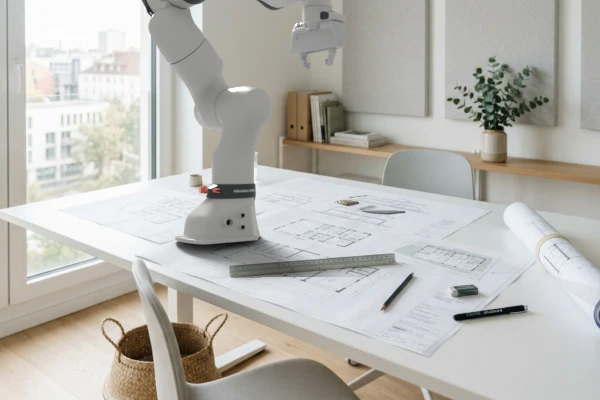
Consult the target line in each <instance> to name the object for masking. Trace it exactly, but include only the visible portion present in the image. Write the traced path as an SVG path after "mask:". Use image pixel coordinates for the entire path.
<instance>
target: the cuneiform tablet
mask: <svg viewBox="0 0 600 400" xmlns="http://www.w3.org/2000/svg"><path fill="white" fill-rule="evenodd" d="M367 196H368V195H367V194H364V195H363V194H362V195H353V196H349V198H350V199H339V200H335V201H334V203H335V204H338V205H342V206H346V207H348V206H353V205H357V204H360V202H359V201H358V200H353V199H351V198H359V197H360V198H361V197H367Z"/></svg>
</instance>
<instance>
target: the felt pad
mask: <svg viewBox="0 0 600 400" xmlns="http://www.w3.org/2000/svg"><path fill="white" fill-rule="evenodd" d="M362 212H363V213H367V214H369V213H370V214H379V215H393V214H402V213H403V214H404V213H406V211H405V210H397V209H395V210H394V209H391V210H390V209H387V210H385V209H384V210H383V209H380V210H379V209H378V210H374V209H373V210H362Z"/></svg>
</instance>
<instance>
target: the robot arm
mask: <svg viewBox="0 0 600 400" xmlns="http://www.w3.org/2000/svg"><path fill="white" fill-rule="evenodd" d="M205 1H206V0H141V2H142V3H143V5H144V7H145V9H146V13H147V14H148V15H149V16H150V18H149V22H148V26H147V27H148V32H149V35H150V36H151V38H152V40H153V41H154V43H155V45H156V47H157V49H158V50H159V52H160V53H161V55H162V56H163V57H164V59H165V60H166V62H167V63H168V64H169V65H170V67H171V68H172V70H173V71H174V72H175V74H177V76H178V77H179V78H180V79H181V81H182V82H183V83H184V85H185V86H186V88H187V90H188V92H189V94H190V95H191V98H192V100H193V103H194V107H193V113H194V118H195V120H196V122H197V123H198V125H199V126H201V127H202V128H204V129H206V130H208V131H209V130H210V131H214V132H221V135H220V139H219V142H218V144H217V146H216V147H215V149H214V150H213V151H212V153H211V183H210V184H209V186H207V185H200V186H199V187H198V193H199V194H206V196H205V199H204V200H203V201H202V202H201V203H200V204H198V205H197V206H196V207H195V208H194V209H193V210H191V212H189V213H188V214H187V216H186V217H185V220H184V227H183V234H177V235H175V236H174V237H175V238H174V240H175V241H176V242H180V243H186V244H193V245H212V244H213V245H215V244H226V243H239V242H248V241H249V242H251V241H257V240H259V238H260V237H261V234H260V229H259V224H258V221H257V214H256V213H257V212H256V205H255V204H256V201H255V200H256V197H257V195H256V194H257V192H256V191H257V189H256V188H257V185H256V183H255V154H256V150H257V149H256V148H257V144H258V140H259V138H260V135H261V132H262V131H263V129H264V127H265V125H266V124H267V123H269V121H270V119H271V117H272V115H273V102H272V99H271V97H270V95H269V94H268V92H267V91H266V90H264V89H262V88H259V87H255V86H248V85H244V86H236V87H230V86H229V85H228V84H227V82H226V81H225V78H224V76H223V69H224V62H223V59H222V58H221V56H220V55H219V54H218V52H217V50H215V48H214V46H213V45H212V43H210V41H209V39H207V36H206V35H205V34H204V33H203V32H202V30H201V29H200V28H199V27H198V26H197V24H196V23H195V21H194V19H193V16H192V12H191V8H192V7H194V6H196V5H200V4H202V3H204V2H205ZM256 1H257V2H258V3H259V4H261V5H262V6H264V7H265V8H266V9H268V10H271V11H278V10H280V9H283V8H285V7H288V6H292V5H296V4H299V3H301V4H302V8H301V9H302V11H301V12H302V13H301V15H302V16H301V21H302V22H299V23H296V24H295V25H294V26H293V28H292V29H291V35H290V43H289V45H290V46H289V51H290V53H291V54H292V55H295V56H299V59H300V61H301V63H302V64H301V65H302V69H303V70H309V69H310V68H311V63H310V62H308V55H309V54H315V53H320V52H325V51H327V52H328V56H327V58H325V59H324V60H325V66H333V65H334V59H335V56H336V54H337V49H343V48H345V47H346V45H347V43H348V29H347V28H348V27H347V25H346V21H347V16H346V14H344V13H340V12H335V11H333V5H332V0H256Z"/></svg>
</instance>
